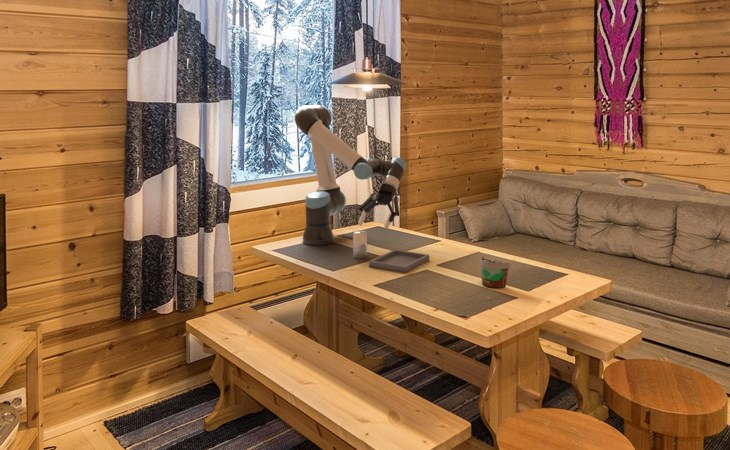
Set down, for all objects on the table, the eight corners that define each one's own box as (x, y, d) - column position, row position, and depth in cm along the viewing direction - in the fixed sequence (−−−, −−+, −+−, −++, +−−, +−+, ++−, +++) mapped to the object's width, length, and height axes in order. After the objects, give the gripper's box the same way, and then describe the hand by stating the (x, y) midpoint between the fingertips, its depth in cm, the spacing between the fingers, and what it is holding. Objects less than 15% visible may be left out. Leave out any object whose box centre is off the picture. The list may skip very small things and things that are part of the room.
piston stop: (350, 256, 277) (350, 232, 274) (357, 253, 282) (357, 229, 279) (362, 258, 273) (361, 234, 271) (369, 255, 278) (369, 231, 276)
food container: (471, 284, 239) (472, 259, 236) (481, 281, 243) (482, 255, 241) (499, 292, 230) (500, 265, 228) (508, 288, 234) (510, 262, 232)
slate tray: (368, 266, 261) (368, 261, 261) (394, 254, 280) (394, 249, 279) (405, 273, 253) (405, 267, 252) (429, 260, 271) (429, 254, 270)
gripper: (415, 194, 287) (400, 233, 278) (368, 190, 299) (352, 227, 290) (410, 184, 281) (394, 224, 272) (362, 180, 294) (345, 218, 285)
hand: (372, 225), depth 281 cm, fingers open, 13 cm apart
